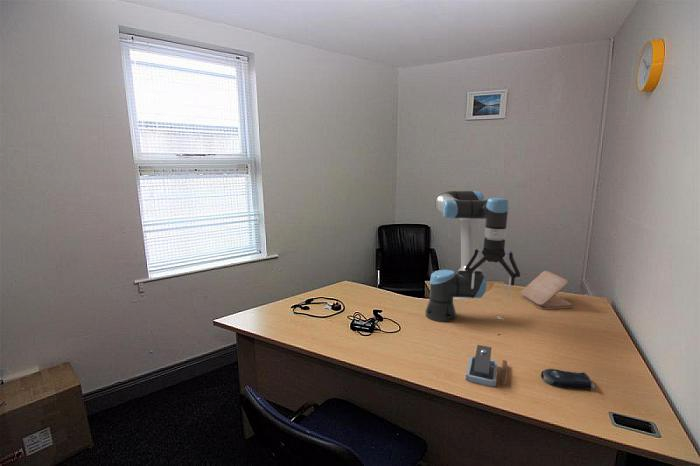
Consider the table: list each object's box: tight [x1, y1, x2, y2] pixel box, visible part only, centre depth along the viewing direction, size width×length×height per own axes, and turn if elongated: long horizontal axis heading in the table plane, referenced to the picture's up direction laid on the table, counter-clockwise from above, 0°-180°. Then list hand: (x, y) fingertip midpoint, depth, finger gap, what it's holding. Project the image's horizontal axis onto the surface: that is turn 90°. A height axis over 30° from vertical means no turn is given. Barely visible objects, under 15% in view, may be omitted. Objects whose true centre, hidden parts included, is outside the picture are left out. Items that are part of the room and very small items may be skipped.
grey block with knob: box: [474, 344, 492, 379], centre depth 133 cm, size 10×5×9 cm, turn 156°
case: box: [520, 270, 575, 311], centre depth 201 cm, size 20×21×16 cm
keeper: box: [465, 355, 499, 387], centre depth 134 cm, size 10×15×2 cm, turn 156°
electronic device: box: [539, 368, 595, 392], centre depth 128 cm, size 9×6×15 cm
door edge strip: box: [500, 360, 508, 386], centre depth 133 cm, size 2×14×2 cm, turn 156°
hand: (490, 290), depth 144 cm, fingers open, 13 cm apart
